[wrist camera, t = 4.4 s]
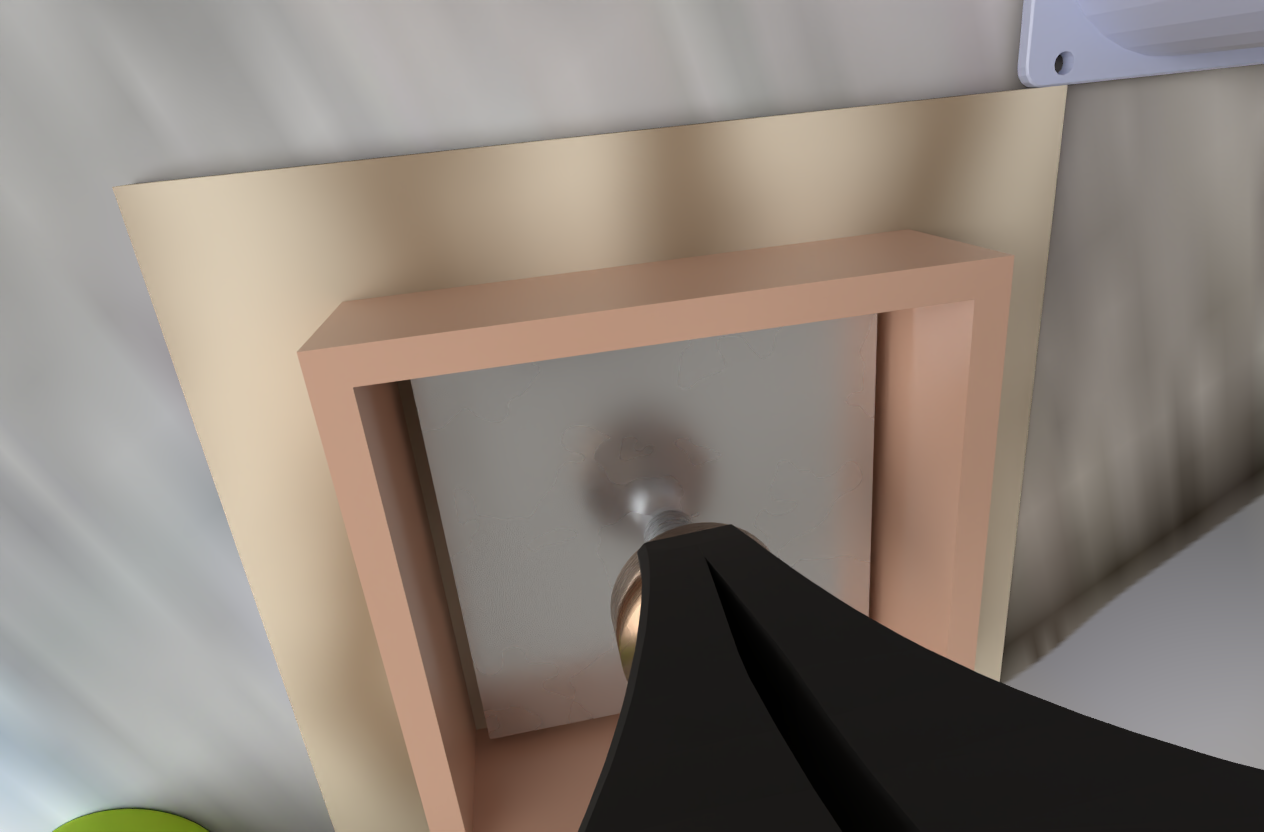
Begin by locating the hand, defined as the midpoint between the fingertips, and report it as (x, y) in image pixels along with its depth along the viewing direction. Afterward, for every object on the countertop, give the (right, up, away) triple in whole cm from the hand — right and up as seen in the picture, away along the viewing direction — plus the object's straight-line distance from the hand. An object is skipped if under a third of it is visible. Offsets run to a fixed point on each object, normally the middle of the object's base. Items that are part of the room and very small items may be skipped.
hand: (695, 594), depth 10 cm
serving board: (0, 0, +11) cm, 11 cm away
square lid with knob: (0, 0, +10) cm, 10 cm away
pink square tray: (0, 0, +11) cm, 11 cm away
